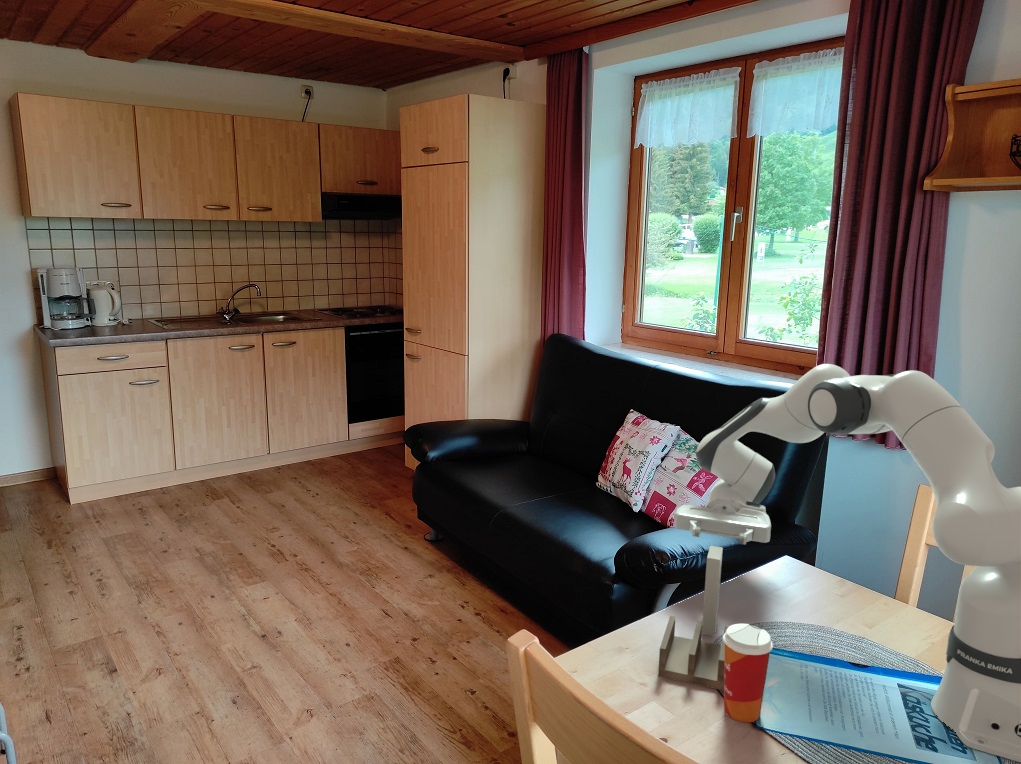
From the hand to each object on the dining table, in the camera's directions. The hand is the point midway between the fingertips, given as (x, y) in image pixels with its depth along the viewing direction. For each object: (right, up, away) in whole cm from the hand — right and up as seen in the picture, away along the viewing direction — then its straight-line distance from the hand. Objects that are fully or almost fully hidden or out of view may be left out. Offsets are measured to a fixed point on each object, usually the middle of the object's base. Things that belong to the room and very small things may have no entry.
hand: (718, 537), depth 157 cm
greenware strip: (-4, -16, -9) cm, 19 cm away
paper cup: (-6, -22, -34) cm, 41 cm away
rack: (-8, -19, -22) cm, 30 cm away
